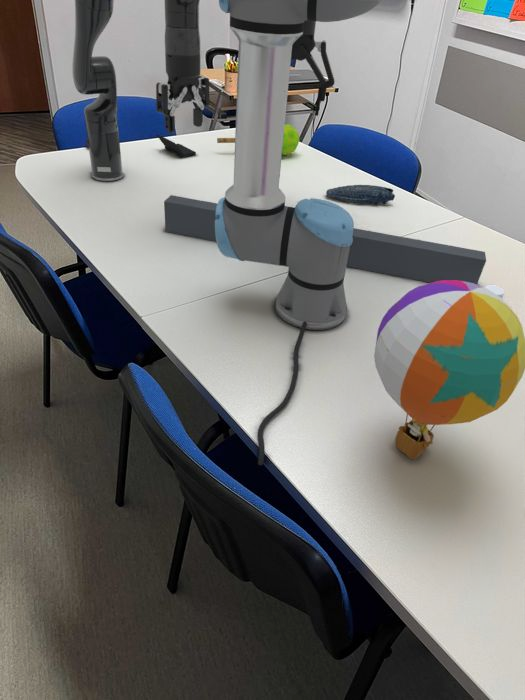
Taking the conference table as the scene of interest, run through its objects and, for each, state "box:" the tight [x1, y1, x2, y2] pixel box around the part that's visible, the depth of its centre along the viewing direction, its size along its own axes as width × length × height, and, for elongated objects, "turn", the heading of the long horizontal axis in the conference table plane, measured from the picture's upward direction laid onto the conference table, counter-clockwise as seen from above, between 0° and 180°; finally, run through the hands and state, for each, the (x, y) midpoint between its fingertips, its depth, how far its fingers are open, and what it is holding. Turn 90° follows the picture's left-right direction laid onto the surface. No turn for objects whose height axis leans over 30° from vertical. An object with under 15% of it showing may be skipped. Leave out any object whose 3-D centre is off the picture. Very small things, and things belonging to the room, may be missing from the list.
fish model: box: [325, 184, 396, 206], centre depth 161 cm, size 7×21×5 cm, turn 84°
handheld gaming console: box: [156, 133, 197, 158], centre depth 183 cm, size 12×7×10 cm
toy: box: [373, 280, 525, 460], centre depth 74 cm, size 20×20×30 cm
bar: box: [163, 194, 487, 285], centre depth 130 cm, size 79×4×8 cm, turn 75°
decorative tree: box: [216, 124, 300, 156], centre depth 186 cm, size 18×10×30 cm
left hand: (184, 129), depth 122 cm, fingers open, 8 cm apart
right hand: (290, 111), depth 135 cm, fingers open, 13 cm apart
